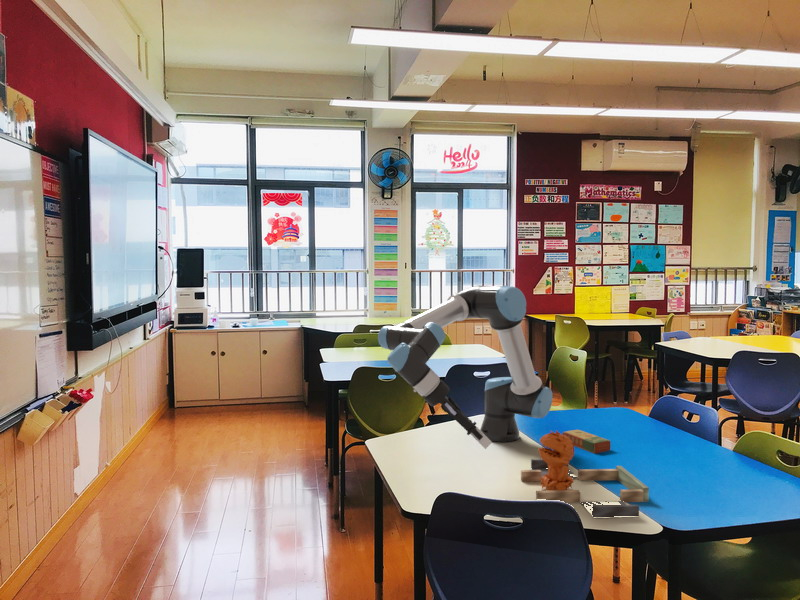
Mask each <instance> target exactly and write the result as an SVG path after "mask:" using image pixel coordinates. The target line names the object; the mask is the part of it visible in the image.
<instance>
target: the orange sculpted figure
mask: <svg viewBox="0 0 800 600" xmlns="http://www.w3.org/2000/svg"><path fill="white" fill-rule="evenodd" d="M539 442H540V444H542V447H539V448H537V450H538V454H539V457H540V459H543V460H544V461H545V462H546V463H547V466H548V474H544V475H543V477H542V478H541V481H539V482H540V486H541V489H544V488H545V491H548V490H570V488H572V489H573V487H572V485H573V483H574V481H575V480H574V479H572V477H569V476H568V471H569V469H570V468H569V464H570V461H572V460H573V458H574V456H575V446H574V444H573V443H572V441H571V440H570V439H569V437H567V436H566V435H563V433H560V432H559V431H558V430H557V429H556V430H555V432H554V431H552V430H550V432H549V433H546V434H544V435H543V436H541V437H540V438H539ZM567 464H568V466H565V465H567Z"/></svg>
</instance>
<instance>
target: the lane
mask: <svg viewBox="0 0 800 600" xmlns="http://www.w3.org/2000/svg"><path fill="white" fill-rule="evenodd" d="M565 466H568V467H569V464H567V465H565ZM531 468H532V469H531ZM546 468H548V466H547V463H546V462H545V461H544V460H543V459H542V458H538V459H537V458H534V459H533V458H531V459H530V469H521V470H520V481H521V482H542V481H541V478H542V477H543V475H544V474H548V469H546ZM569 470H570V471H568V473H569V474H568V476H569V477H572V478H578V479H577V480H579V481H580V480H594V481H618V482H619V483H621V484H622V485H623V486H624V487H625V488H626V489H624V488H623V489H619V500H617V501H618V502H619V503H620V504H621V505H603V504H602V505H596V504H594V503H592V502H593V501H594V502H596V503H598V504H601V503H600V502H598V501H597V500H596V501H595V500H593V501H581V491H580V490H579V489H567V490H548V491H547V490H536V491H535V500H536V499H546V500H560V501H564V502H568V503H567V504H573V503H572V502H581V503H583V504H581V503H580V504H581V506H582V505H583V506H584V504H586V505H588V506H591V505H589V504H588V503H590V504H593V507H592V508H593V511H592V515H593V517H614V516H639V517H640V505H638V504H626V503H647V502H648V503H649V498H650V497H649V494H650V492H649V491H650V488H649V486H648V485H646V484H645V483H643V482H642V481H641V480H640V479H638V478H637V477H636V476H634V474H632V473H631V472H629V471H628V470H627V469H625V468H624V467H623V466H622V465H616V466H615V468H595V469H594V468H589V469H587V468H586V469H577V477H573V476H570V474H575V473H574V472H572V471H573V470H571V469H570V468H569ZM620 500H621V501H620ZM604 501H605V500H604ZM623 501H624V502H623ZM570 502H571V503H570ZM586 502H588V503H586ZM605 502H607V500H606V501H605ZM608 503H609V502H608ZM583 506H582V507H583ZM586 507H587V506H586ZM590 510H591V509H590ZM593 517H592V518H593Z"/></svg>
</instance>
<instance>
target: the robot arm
mask: <svg viewBox="0 0 800 600" xmlns="http://www.w3.org/2000/svg"><path fill="white" fill-rule="evenodd" d="M526 313H527V300H526V297H525V294H524V293H523V292H522V290H521V289H519V287H516V286H511V285H475V286H472V287H469V288H468V287H467V288H466V289H463V290H461V291H458V292H456V293H455V294H452V295H450V296H449V297H448V298H447V300H446V301H444V302H442V303H440V304H438V305H436V306H433V307H432V308H430V309H428V310H426V311H425V310H424V312H422V313H420V314H417V315H415V316H413V317H411V318H410V319H407V320H405V321H403V322H401V323H398V324H397V325H392V324H391V325H384V326H382V327H380V329H379V330H378V335H377V342H378V345H379V346H380V347H381V348H383V349H385V350H389V351H391V352H390V353H389V354H388V356H387V359H386V361H387V363H388V364H390V366H391V368H392V369H393V370H394V371H395V372H396V373H397V374H398V375H399V376H400V377H401V378H403V380H405V381H406V382H407V383H408V385H410V387H412V388H413V389H412V390H413V392H414V393H418V395H420V397H423V400H424V401H425V402H426V403H427V404H428V405H430V407H436V406H437V405H438V404H440V407H441V409H442V411H443V412H444V413H446V414H448V415H449V417H451V418H452V419H453V420H455V421H456V423H458V424H459V425H460V426H461V427H462V428H463V429H464V430H466V435H467V436H470V435H471V437H472V438H473V439H475V441H477V443H478V444H480V445H481V447H483V448H484V449H485V450H486V449H488V447H490V445H491V444H492V443H493V442H496V441H497V442H498V443H499V442H500V443H508V442H507V441H510V442H515V441H517V440H519V439H520V431H519V426H518V424H517V420H516V415H518V416H519V415H520V416H524V417H529V418H532V419H533V418H534V419H544V418H545V417H546V416H547V415H548V414H549V412H550V411H551V408H552V403H553V391H552V389H551V388H549V387H548V386H544V384H543V381H542V379H541V378H540V377H539V376H538V375H536V373H535V371H536V370H535V369H534V365H533V362H532V359H531V355H530V351H529V348H528V345H527V342H526V338H525V335H524V332H523V327H522V323H523V320H524V318H525V316H526ZM466 319H485V320H488V322H489V325H490V328H491V329H492V330H494V331H496V334H497V336H498V340H499V342H500V345H501V349H502V352H503V355H504V358H505V362H506V364H507V367H508V370H509V374H510V376H501V377H492V378H489V379H487V380H485V383H484V384H485V386H484V417H483V420H482V424H481V425H480V428H479V427H478V426H477V422H476V421H474V422H473V421H472V419H470V418H469V417H468V416H467V415H466V413H464V411H462V409H461V408H460V407H459V405H458V404H457V403H456V402H455V401H454V399H453V398H452V397H451V396H449V397H447V395H448V394H449V393H450V387H449V385H447V383H445V382H444V380H443V379H440V377H439V375H438V374H437V373H436V372H435V371H434V370H433V369H432V368H431V367H430V366H428V364H427V362H428V361H430V359H431V357H433V355H434V354H435V353H436V352H437V350H438V349H439V348H441V345H443V342H445V340H446V333H445V331H444V329H443V328H445V327H448V325H451V324H452V323H455V322H456V321H457V322H462V321H465V320H466ZM514 440H515V441H514ZM497 442H496V443H497Z"/></svg>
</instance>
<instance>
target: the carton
mask: <svg viewBox="0 0 800 600" xmlns="http://www.w3.org/2000/svg"><path fill="white" fill-rule="evenodd" d="M562 435H566V436H567V437H569V439H570V440H571V441H572V443H573V444H574V448H575V447H576V448H579V449H581V450H584V451H587V452H590V453H591V454H594V455H595V454H600V453H604V452H610V451H611V439H607V438H604V437H601V436H598V435H596V434H592V433H590V432H586V431H584V430H580V429H573V430H572V429H571V430H567V431H562Z"/></svg>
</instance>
